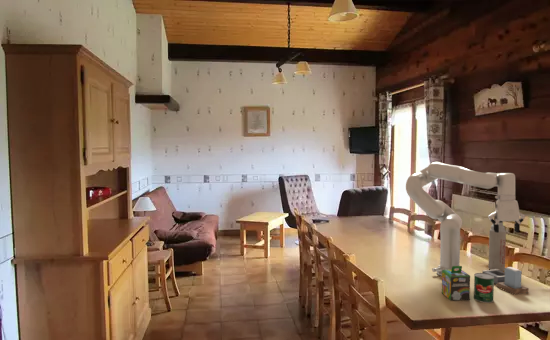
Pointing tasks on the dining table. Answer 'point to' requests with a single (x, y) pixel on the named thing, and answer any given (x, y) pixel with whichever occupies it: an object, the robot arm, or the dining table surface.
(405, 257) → the dining table surface
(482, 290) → the canned tomato
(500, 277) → the port
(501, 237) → the thermos bottle
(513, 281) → the light blue block
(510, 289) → the brown rectangular tray
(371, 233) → the dining table surface
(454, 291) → the chalk box
